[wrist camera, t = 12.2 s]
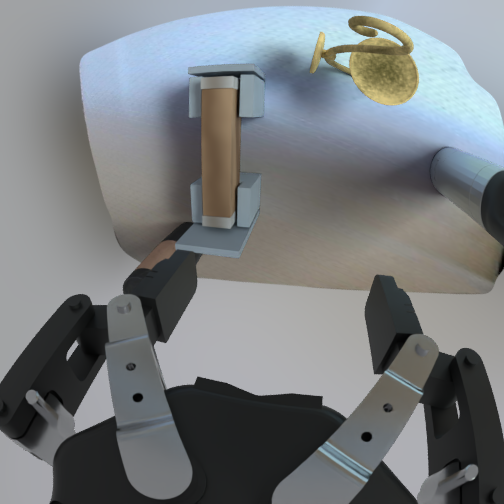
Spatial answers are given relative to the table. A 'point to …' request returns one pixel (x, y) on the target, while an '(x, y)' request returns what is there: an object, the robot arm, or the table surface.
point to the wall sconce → (375, 62)
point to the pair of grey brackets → (250, 183)
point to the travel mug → (157, 257)
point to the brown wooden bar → (220, 150)
